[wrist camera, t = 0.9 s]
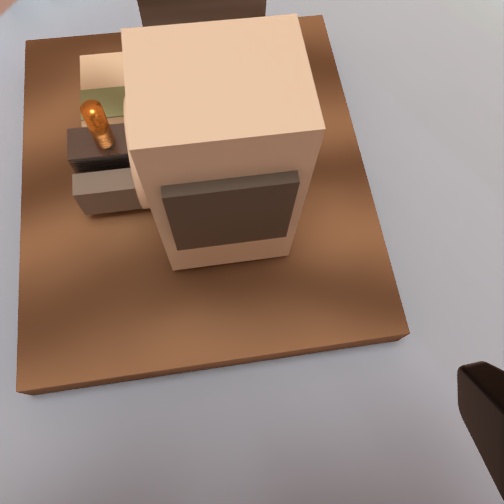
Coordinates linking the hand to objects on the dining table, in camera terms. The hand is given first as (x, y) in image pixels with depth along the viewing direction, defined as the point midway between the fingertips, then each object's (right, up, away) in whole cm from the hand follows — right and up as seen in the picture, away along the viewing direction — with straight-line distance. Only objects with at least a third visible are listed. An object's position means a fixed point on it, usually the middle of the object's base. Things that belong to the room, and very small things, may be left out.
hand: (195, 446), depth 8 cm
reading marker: (-5, +7, +14) cm, 16 cm away
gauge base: (-1, +7, +16) cm, 17 cm away
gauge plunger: (-2, +4, +13) cm, 14 cm away
